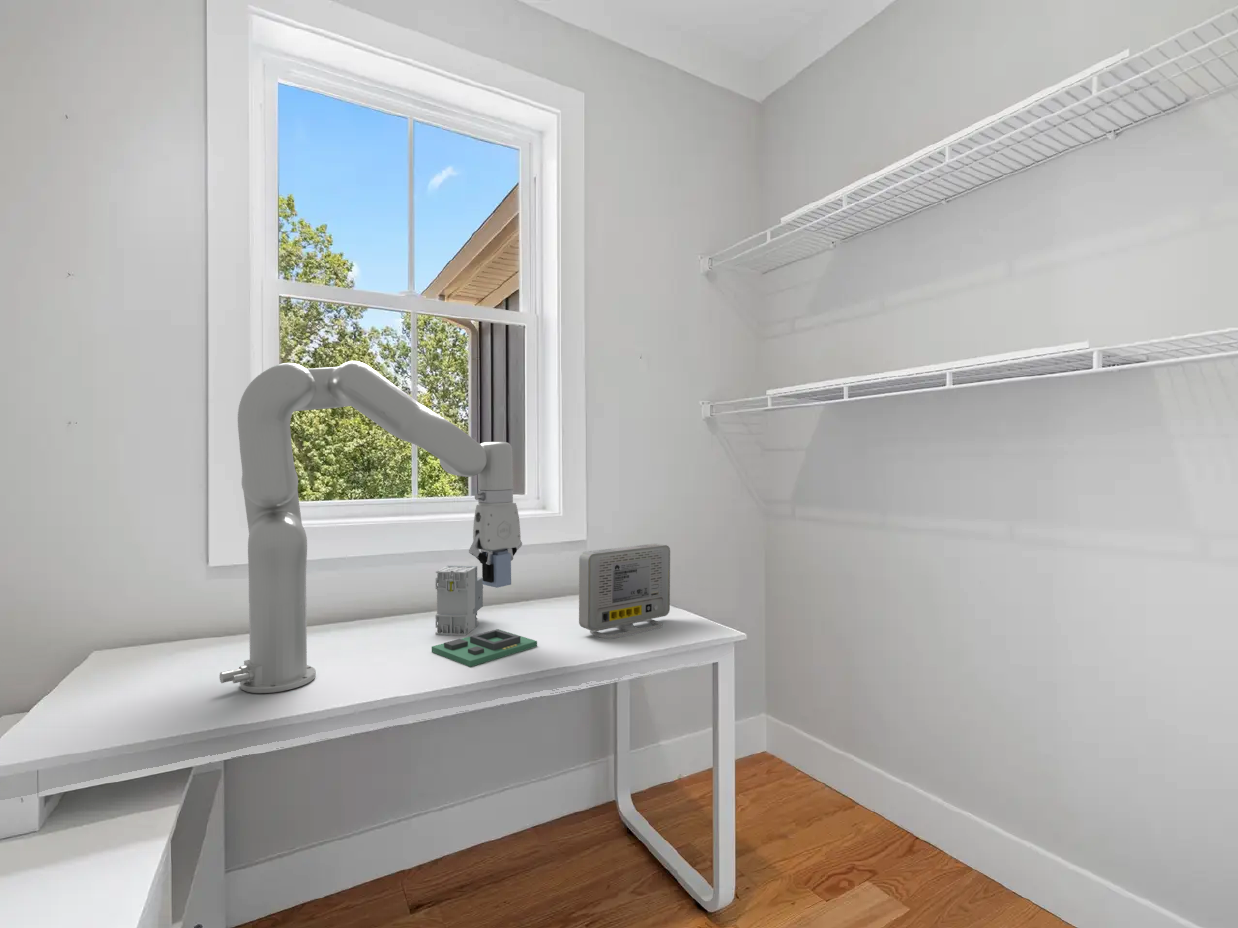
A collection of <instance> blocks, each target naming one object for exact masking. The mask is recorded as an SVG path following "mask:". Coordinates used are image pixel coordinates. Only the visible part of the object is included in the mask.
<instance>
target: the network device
mask: <svg viewBox="0 0 1238 928" xmlns="http://www.w3.org/2000/svg"><path fill="white" fill-rule="evenodd" d="M578 558H579V559H578V563H579V564H578V566H579V567H578V568H579V569H578V571H579V572H578V576H579V577H578V624H579V626H580V627H581V628H583V629H585V630H589V633H590V635H593V636H595V637H598V638H600V639H607V640H609V639H610V640H612V639H619V638H622V637H627V636H631V635H632V636H633V635H635V634H641V633H647V632H650V631H654V630H658V629H661V628H663V622H661V621H658V620H655V619H657V618H662V617H663V618H664V617H666V616H667V615H669V613H670V609H671V603H670V602H671V548H670V547H669V545H667V544H661V543H649V544H639V545H629V546H621V547H613V548H612V547H611V548H604V549H595V550H586V551H583V552H581V554H580V555H579V557H578ZM640 622H646V623H648V624H651V626H647V627H636V626H634V623H640ZM610 628H613V629H614V628H616V629H618V630H621V631H623V632H620V633H619V632H618V633H615V634H605V633H602V632H600V631H601V630H606V629H610Z"/></svg>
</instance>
